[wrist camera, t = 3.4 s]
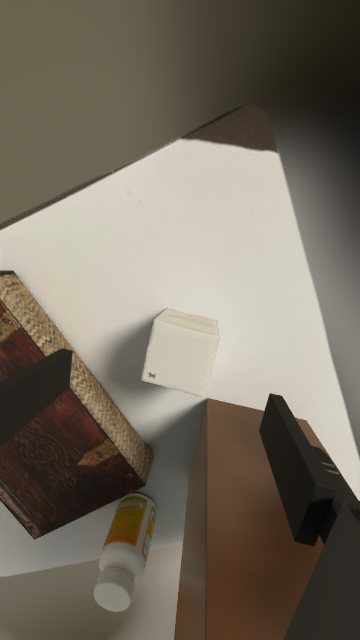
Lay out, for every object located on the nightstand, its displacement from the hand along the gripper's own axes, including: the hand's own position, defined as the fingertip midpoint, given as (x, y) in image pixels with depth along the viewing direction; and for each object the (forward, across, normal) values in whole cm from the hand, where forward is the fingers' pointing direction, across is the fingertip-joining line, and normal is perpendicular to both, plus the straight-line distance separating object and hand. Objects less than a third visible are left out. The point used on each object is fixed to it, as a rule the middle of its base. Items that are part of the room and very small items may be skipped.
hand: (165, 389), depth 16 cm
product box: (+13, 0, 0) cm, 13 cm away
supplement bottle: (+13, -2, -26) cm, 29 cm away
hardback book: (+13, -18, -13) cm, 26 cm away
